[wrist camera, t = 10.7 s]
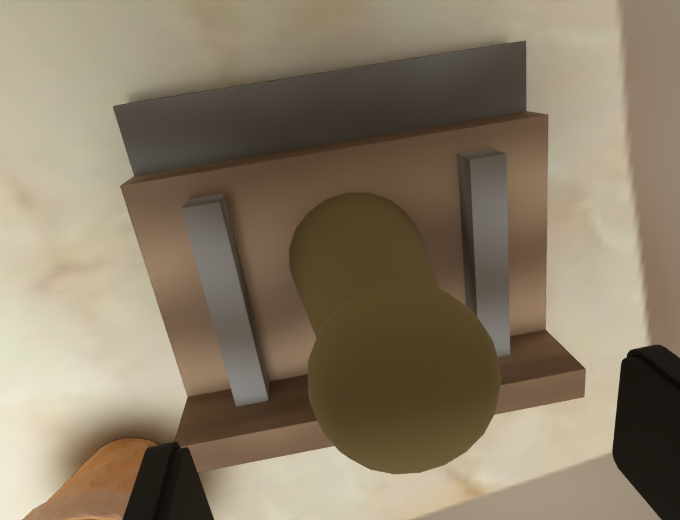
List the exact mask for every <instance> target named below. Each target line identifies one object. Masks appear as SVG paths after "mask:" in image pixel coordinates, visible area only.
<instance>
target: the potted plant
mask: <svg viewBox="0 0 680 520" xmlns="http://www.w3.org/2000/svg"><path fill="white" fill-rule="evenodd" d="M157 445H158V444H156V443H155V442H153V441H151V440H146V439H141V438H123V439H119V440H115V441H112V442H110V443H108V444H106V445H104V446H102V447H101V448H100V449H99V450H98V451H97V452H96V453H95V454H94V455H93V456H92V457H91V458H89V459H88V460H87V461H86V462H85V463H84V464H83V465H82V466H81V467H80V468H79V470H78V471H77V472H76V473H75V474H74V475H73V476H72V477H71V478H70V479H69V480H68V481H67V482H66V483H65V484H64V485H63V486H62V487H61V488H60V489H59V490H58V491H57V492H56V493H55V494H54V495H53V496H52V497H51V498H50V499H49V500H48V501H47V502H46V503H44V504H42V505H40V506H38V507H37V508H35V509H33V510H32V511H31V512H30V513H29V514H28V515H27V516H26V517H25V518H24V519H23V520H122V519H123V516H124V513H125V510H126V507H127V504H128V501H129V498H130V495H131V492H132V489H133V486H134V483H135V480H136V477H137V474H138V471H139V468H140V465H141V462H142V459H143V456H144V453H145V451H146V449H147V448H148V447H152V446H157Z"/></svg>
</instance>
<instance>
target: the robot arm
mask: <svg viewBox="0 0 680 520" xmlns="http://www.w3.org/2000/svg"><path fill="white" fill-rule="evenodd" d="M612 451H613V458H614V461H615V463H616V465H617V467H618V468H619V470H620V471H621V472H622V473H623V474H624V476H625V477H626V478H627V479H628V480H629V481H630V483H631V484H632V485H633V486H634V487H635V489H636V490H637V491H638V492H639V493H640V494H641V496H642V497H643V498H644V499H645V500H646V502H647V503H648V504H649V505H650V506H651V507H652V509H653V510H654V511H655V512H656V513H657V515H658V516H659V517H660V518H661V519H662V520H680V358H679V357H677V356H676V355H675V354H673V353H672V352H671V351H669V350H668V349H667V348H665V347H663V346H661V345H652V346H647V347H642V348H637V349H633V350H630V351H629V352H628V354H627V358H625V359H623V360H622V363H621V372H620V381H619V391H618V401H617V411H616V421H615V430H614V440H613V450H612ZM122 520H214V518H213V515H212V513H211V510H210V507H209V504H208V501H207V498H206V495H205V492H204V490H203V487H202V484H201V481H200V478H199V475H198V472H197V470H196V467H195V464H194V461H193V458H192V455H191V452H190V450H189V448H188V447H184V448H180V445H179V444H178V443H177V442H172V443H167V444H162V445H157V446H152V447H148V448H147V449H146V451H145V453H144V456H143V459H142V462H141V465H140V468H139V471H138V474H137V477H136V480H135V483H134V486H133V489H132V492H131V495H130V498H129V501H128V504H127V507H126V510H125V513H124V516H123V519H122Z"/></svg>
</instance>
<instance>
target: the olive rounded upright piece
mask: <svg viewBox="0 0 680 520" xmlns="http://www.w3.org/2000/svg"><path fill="white" fill-rule="evenodd" d="M289 269H290V272H291V274H292V277H293V280H294V282H295V285H296V288H297V290H298V293H299V295H300V298H301V300H302V303H303V306H304V308H305V311H306V313H307V316H308V318H309V321H310V323H311V326H312V328H313V331H314V334H315V336H316V341H315V343H314V346H313V349H312V351H311V354H310V357H309V359H308V395H309V401H310V404H311V406H312V409H313V411H314V414H315V416H316V419H317V421H318V423H319V425H320V428H321V430H322V432H323V434H324V435H325V436H326V437H327V438H328V439H329V440H330V441H331V442H332V443H333V445H334V446H335V447H336V448H337V449H338V450H339V451H340V452H341V453H343V454H344V455H346V456H347V457H348V458H350V459H352V460H354V461H356V462H357V463H359V464H361V465H363V466H365V467H367V468H369V469H371V470H376V471H381V472H386V473H391V474H406V473H420V472H423V471H427V470H430V469H433V468H436V467H439V466H442V465H445V464H447V463H448V462H450V461H452V460H453V459H455V458H457V457H458V456H460V455H462V454H463V453H465V452H467V450H468V449H469V448H470V447H471V446H472V445H473V444H474V443H475V442H476V441H477V440H478V439H479V438H480V437H481V436H482V435H483V434H484V433H485V431H486V429H487V427H488V425H489V423H490V421H491V419H492V418H493V416H494V414H495V411H496V407H497V403H498V397H499V391H500V385H501V379H502V377H501V372H500V367H499V362H498V357H497V353H496V349H495V346H494V342H493V340H492V338H491V337H490V335H489V334H488V332H487V331H486V329H485V328H484V326H483V325H482V323H481V322H480V320H479V319H478V317H477V316H476V315H475V314H474V313H473V312H472V310H471V309H470V308H468V307H467V306H465V305H464V304H463V303H461V302H460V301H458V300H457V299H456V298H454V297H453V296H451V295H450V294H449V293H446V292H444V291H442V290H440V287H439V285H438V282H437V279H436V277H435V274H434V272H433V269H432V266H431V264H430V261H429V259H428V256H427V254H426V251H425V248H424V246H423V243H422V241H421V238H420V236H419V233H418V230H417V228H416V226H415V225H414V223H413V222H412V220H411V219H410V217H409V216H408V214H407V213H406V211H404V210H403V209H402V208H400V207H399V206H398V205H396V204H395V203H394V202H392V201H391V200H390V199H387V198H384V197H381V196H378V195H375V194H372V193H344V194H341V195H338V196H335V197H332V198H329V199H326V200H325V201H323V202H322V203H320V204H319V205H318V206H316V207H315V208H313V209H312V210H311V211H309V212H308V213H307V215H306V216H305V217H304V219H303V220H302V221H301V223H300V224H299V225H298V227H297V228H296V229H295V232H294V235H293V239H292V242H291V245H290V248H289Z"/></svg>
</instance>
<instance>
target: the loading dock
mask: <svg viewBox="0 0 680 520" xmlns="http://www.w3.org/2000/svg"><path fill="white" fill-rule="evenodd" d="M113 108H114V112H115V115H116V118H117V121H118V125H119V128H120V131H121V134H122V138H123V141H124V144H125V147H126V151H127V154H128V157H129V160H130V164H131V167H132V170H133V174H134V177H132V178H131V179H130V180H128V181H127V182H125V183H124V184H122V185H121V186H120V187H121V190H122V193H123V196H124V199H125V202H126V206H127V209H128V212H129V215H130V218H131V221H132V224H133V227H134V231H135V234H136V237H137V240H138V243H139V246H140V249H141V252H142V255H143V259H144V262H145V265H146V268H147V271H148V274H149V277H150V280H151V284H152V287H153V290H154V293H155V296H156V299H157V302H158V305H159V309H160V312H161V315H162V318H163V321H164V324H165V327H166V330H167V333H168V337H169V340H170V343H171V346H172V349H173V352H174V355H175V358H176V362H177V365H178V368H179V371H180V374H181V377H182V380H183V383H184V387H185V390H186V393H187V396H188V398H187V401H186V404H185V408H184V411H183V415H182V418H181V421H180V425H179V428H178V431H177V435H176V438H175V441H174V442H177V443H178V444H179V445H180V448H184V447H188V448H189V450H190V452H191V455H192V458H193V461H194V464H195V467H196V470H197V472H203V471H208V470H213V469H218V468H223V467H228V466H233V465H239V464H244V463H249V462H254V461H259V460H264V459H269V458H274V457H280V456H285V455H290V454H295V453H300V452H305V451H310V450H315V449H321V448H326V447H331V446H334V445H333V443H332V442H331V441H330V440H329V439H328V438H327V437H326V436H325V435H324V434H323V432H322V430H321V428H320V425H319V423H318V421H317V419H316V416H315V414H314V411H313V409H312V406H311V404H310V401H309V395H308V359H309V357H310V354H311V351H312V349H313V346H314V343H315V341H316V336H315V334H314V331H313V328H312V326H311V323H310V321H309V318H308V316H307V313H306V311H305V308H304V306H303V303H302V300H301V298H300V295H299V293H298V290H297V288H296V285H295V282H294V280H293V277H292V274H291V272H290V269H289V248H290V245H291V242H292V239H293V235H294V232H295V229H296V228H297V227H298V225H299V224H300V223H301V221H302V220H303V219H304V217H305V216H306V215H307V213H308V212H309V211H311V210H312V209H313V208H315V207H316V206H318V205H319V204H320V203H322V202H323V201H325V200H326V199H329V198H332V197H335V196H338V195H341V194H344V193H372V194H375V195H378V196H381V197H384V198H387V199H390V200H391V201H392V202H394V203H395V204H396V205H398V206H399V207H400V208H402V209H403V210H404V211H406V213H407V214H408V216H409V217H410V219H411V220H412V222H413V223H414V225H415V226H416V228H417V230H418V233H419V236H420V238H421V241H422V243H423V246H424V248H425V251H426V254H427V256H428V259H429V261H430V264H431V266H432V269H433V272H434V274H435V277H436V279H437V282H438V285H439V287H440V290H442V291H444V292H446V293H449V294H450V295H451V296H453V297H454V298H456V299H457V300H458V301H460V302H461V303H463V304H464V305H465V306H467V307H468V308H470V309H471V310H472V312H473V313H474V314H475V315H476V316H477V317H478V319H479V320H480V322H481V323H482V325H483V326H484V328H485V329H486V331H487V332H488V334H489V335H490V337H491V338H492V340H493V342H494V346H495V349H496V353H497V357H498V362H499V367H500V372H501V377H502V379H501V385H500V391H499V397H498V403H497V407H496V411H495V414H500V413H505V412H510V411H515V410H521V409H526V408H531V407H536V406H541V405H546V404H551V403H556V402H562V401H567V400H572V399H577V398H582V397H584V393H585V373H586V369H585V368H584V367H583V366H582V365H581V364H580V363H579V362H578V361H577V360H576V359H575V358H574V357H573V356H572V355H571V354H570V353H569V352H568V351H567V350H566V349H565V348H564V347H563V346H562V345H561V344H560V343H559V342H558V341H557V340H556V339H555V338H553V337H552V336H551V335H550V334H549V333H548V332H547V331H546V250H547V170H548V115H547V114H541V113H534V112H528V111H526V41H520V42H512V43H505V44H499V45H493V46H486V47H480V48H474V49H468V50H461V51H455V52H449V53H442V54H436V55H430V56H424V57H417V58H411V59H405V60H398V61H392V62H386V63H379V64H373V65H367V66H361V67H354V68H348V69H342V70H335V71H329V72H323V73H316V74H310V75H304V76H298V77H291V78H285V79H279V80H272V81H266V82H260V83H253V84H247V85H241V86H235V87H228V88H222V89H216V90H209V91H203V92H197V93H190V94H184V95H178V96H172V97H165V98H159V99H153V100H146V101H140V102H134V103H127V104H122V105H117V106H113ZM495 414H494V415H495Z"/></svg>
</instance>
